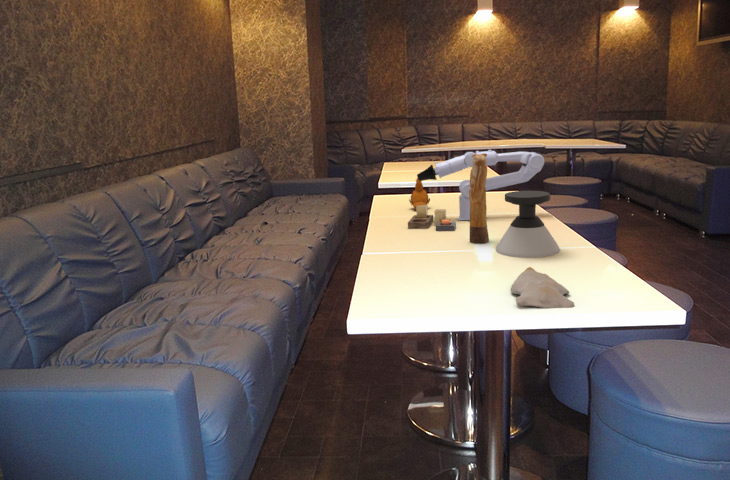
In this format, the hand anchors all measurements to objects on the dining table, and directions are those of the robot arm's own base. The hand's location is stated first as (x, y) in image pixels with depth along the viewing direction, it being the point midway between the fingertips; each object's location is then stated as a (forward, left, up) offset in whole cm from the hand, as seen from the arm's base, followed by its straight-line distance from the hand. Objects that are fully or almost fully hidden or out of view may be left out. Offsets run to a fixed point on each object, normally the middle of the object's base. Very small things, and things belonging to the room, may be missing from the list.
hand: (417, 177), depth 252 cm
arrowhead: (-45, +91, -19) cm, 103 cm away
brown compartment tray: (-2, +8, -18) cm, 20 cm away
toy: (+4, -28, -18) cm, 34 cm away
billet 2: (-10, +8, -18) cm, 22 cm away
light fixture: (-43, +49, -18) cm, 68 cm away
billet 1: (-2, +4, -17) cm, 17 cm away
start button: (-13, +16, -16) cm, 26 cm away
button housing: (-13, +16, -18) cm, 27 cm away
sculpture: (-27, +36, -18) cm, 49 cm away
